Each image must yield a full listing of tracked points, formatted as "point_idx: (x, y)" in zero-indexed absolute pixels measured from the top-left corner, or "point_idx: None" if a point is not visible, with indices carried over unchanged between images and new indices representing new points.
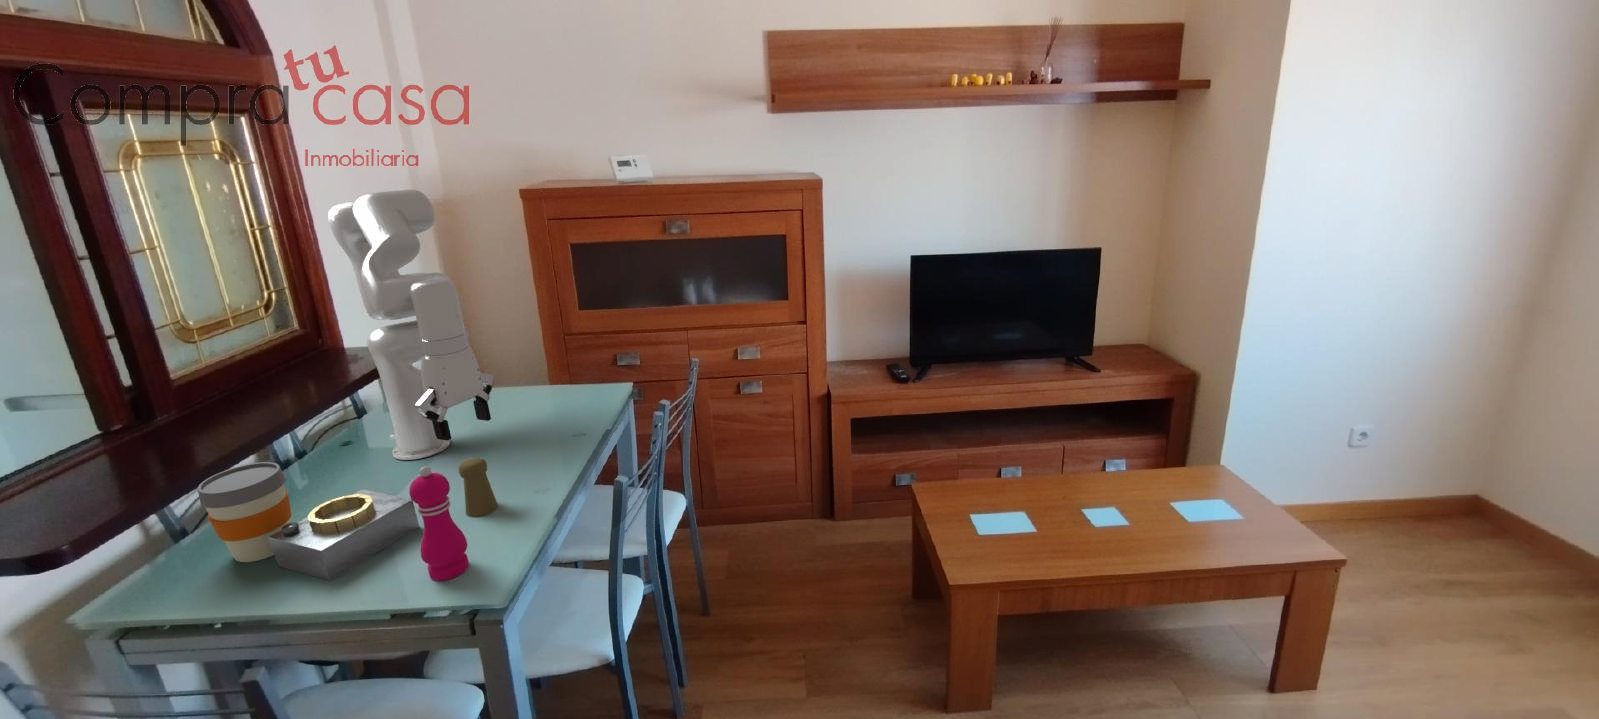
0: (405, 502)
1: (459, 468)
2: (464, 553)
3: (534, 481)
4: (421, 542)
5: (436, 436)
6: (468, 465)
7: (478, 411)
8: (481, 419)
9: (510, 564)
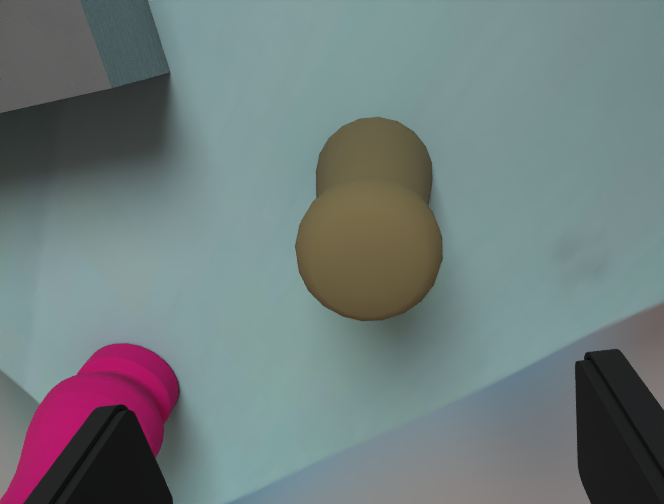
0: (79, 87)
1: (299, 242)
2: (166, 408)
3: (638, 168)
4: (25, 438)
5: (89, 420)
6: (326, 297)
7: (616, 465)
8: (576, 413)
9: (239, 476)
